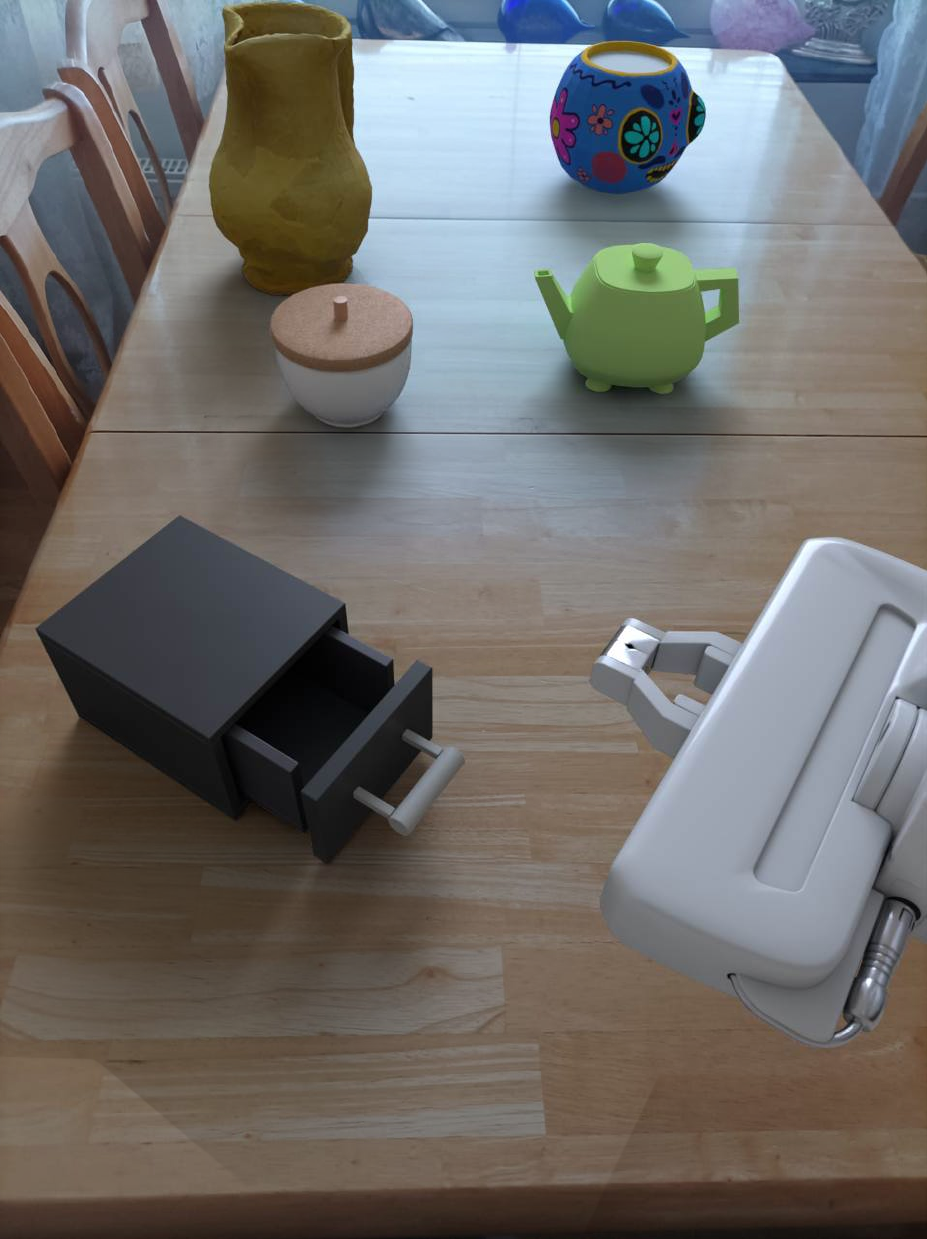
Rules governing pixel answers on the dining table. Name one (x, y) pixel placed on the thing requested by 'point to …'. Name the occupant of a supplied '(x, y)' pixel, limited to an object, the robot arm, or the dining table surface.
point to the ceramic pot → (624, 116)
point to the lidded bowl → (343, 351)
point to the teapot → (639, 315)
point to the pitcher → (290, 147)
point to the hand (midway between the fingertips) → (607, 650)
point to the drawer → (339, 743)
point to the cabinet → (184, 650)
